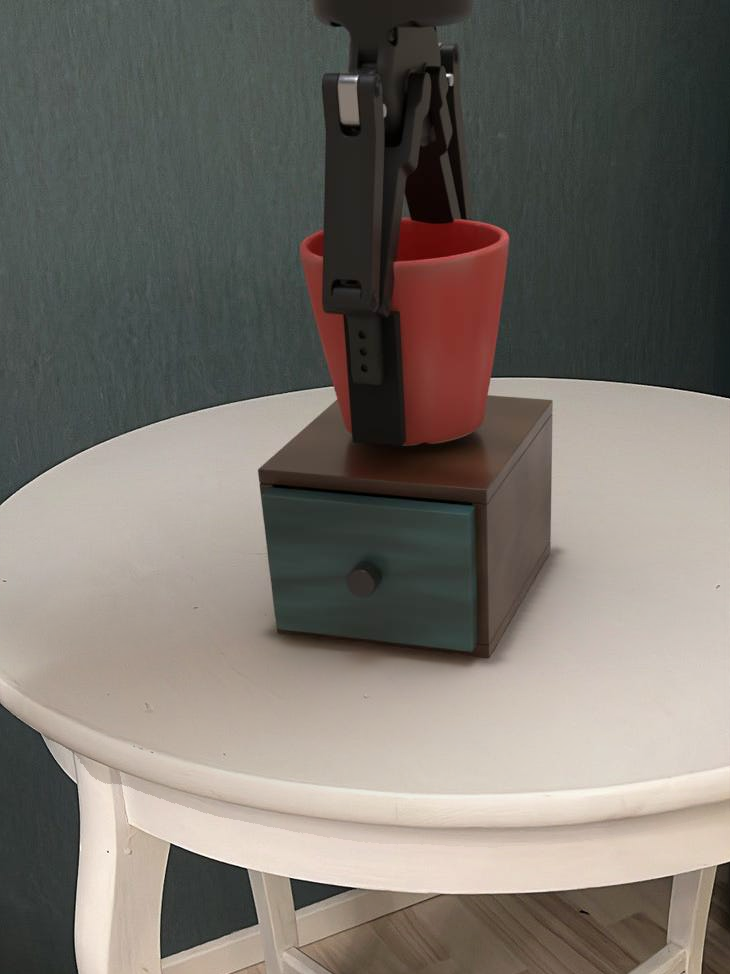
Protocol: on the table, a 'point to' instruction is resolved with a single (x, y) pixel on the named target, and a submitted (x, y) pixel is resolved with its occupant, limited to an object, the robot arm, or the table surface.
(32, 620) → the table surface
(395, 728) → the table surface
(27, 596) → the table surface
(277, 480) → the cabinet
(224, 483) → the table surface
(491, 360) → the flower pot
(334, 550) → the drawer
